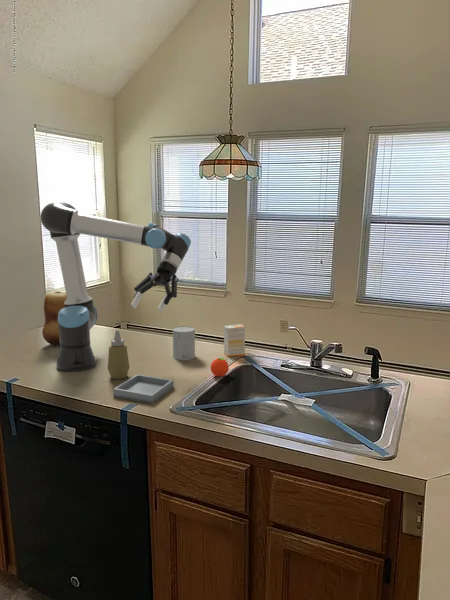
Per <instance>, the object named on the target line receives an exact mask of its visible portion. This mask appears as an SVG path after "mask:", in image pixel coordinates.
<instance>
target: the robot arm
mask: <svg viewBox="0 0 450 600" xmlns="http://www.w3.org/2000/svg"><path fill="white" fill-rule="evenodd" d="M40 222H41V224H42V226H43V227H44V228H45V229H46V231H47V230H48V231H49V234H50V239H52V240H53V241H54V242H55V244H56V250H57V255H58V260H59V266H60V269H61V275H62V276H61V277H62V280H63V286H64V292H66V296H67V299H66V301H65V302H64V305H65V308H63V309H61V310H60V311H59V313H58V324H59V339H60V345H59V352H58V355H57V359H56V361H55V362H56V365H55V366H56V368H57V370H59V371H63V372H80V371H86V370H89V369H92V368H94V367H95V366H96V364H97V362H96V361H97V360H96V359H97V358H96V357H95V354H94V352H93V349H92V346H91V332H90V331H91V329H92V328H93V327H94V326H95V324H96V323H97V321H98V310H97V308H96V306H95V305H94V299H93V297H92V296H90V295H89V294H88V289H87V284H86V283H87V282H86V278H85V273H84V267H83V262H82V256H81V252H80V246H79V240H78V238H80V235H81V234H82V235H86V236H91V237H98V238H103V239H108V240H113V241H119V242H124V243H128V244H135V245H139V246H144V247H149V248H151V249H162V250H164V251H165V254H164V255H163V257H162V259H161V261H160V263H159V265H158V267H157V269H156V273H155V274H154V273H152V272H149V273H148V274H147V275H146V277H145V278H143V280H141V281H140V282H139V283H137V285H136V286H135V287H134V288H133V290H134V291H135V292H136V293H135V294H134V296H133V300H132V302H131V303H130V306H131V307H132V308H133V309H136V308H137V306H138V305H139V304H140V301H141V300H142V297H143V294H145V293H146V292H148V291H149V290H151V289H152V288H153V287H156V286H161V287H164V289H165V293H166V294H164V295H163V297H162V299H161V301H160V303H159V304H158V306H157V310H158V311H159V312H160V313H163V312H164V311H165V308H166V306H168V305H169V303H170V301H171V299H173V298H174V299H176V298H177V296H178V281H179V277H178V276H177V275H176V274H177V271H178V269H179V268H180V266H181V264H182V263H183V260H184V258H185V257H186V255H187V253H188V250H189V248H190V246H191V244H192V241H191V238H190V236H188V235H187V234H185V233H182V232H178V233H176V234H172V233H171V232H169V231H167V230H165V228H162V227H161V226H159V225H158V224H155V223H153V222H149V223H148V224H147V226H146V225H145V226H144V225H142V224H141V225H140V224H136V223H131V222H125V221H121V220H115V219H110V218H105V217H101V216H95V215H91V214H86V213H80V212H79V211H78V209H76V208H75V207H74V206H73V205H72V204H70V203H67V202H51V203H48V204H46V206H44V207H43V209H42V210H41V212H40ZM170 282H171V283H170ZM170 285H171V286H170Z"/></svg>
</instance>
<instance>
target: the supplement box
mask: <svg viewBox="0 0 450 600" xmlns="http://www.w3.org/2000/svg"><path fill="white" fill-rule="evenodd" d="M245 342H246V326H244V325H243V324H242V323H241V324H240V323H239V324H229V325H224V326H223V354H224V356H226V357H227V358H230V357H239V356H240V357H241V356H245V354H246V345H245V344H246V343H245Z"/></svg>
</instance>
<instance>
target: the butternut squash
mask: <svg viewBox="0 0 450 600" xmlns="http://www.w3.org/2000/svg"><path fill="white" fill-rule="evenodd" d="M66 299H67V296H66V291H62V290H53V291H49V292H48V293H46V295H45V297H44V301H43V312H44V324H43V328H42V331H41V333H42V337H43V339H44V340H45V342H46V343H48V344H49V345H50V346H53V347H55V346H56V345H57V346H60V339H59V324H58V313H59V311H60V310H61V309H63V308H65V305H64V302H65V301H66ZM57 346H56V347H57Z"/></svg>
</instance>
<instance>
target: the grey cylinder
mask: <svg viewBox="0 0 450 600" xmlns="http://www.w3.org/2000/svg"><path fill="white" fill-rule="evenodd" d="M172 358H173V359H174V360H177V361H190V360H193V359H195V358H196V328H195V327H193V326H187V325H185V326H184V325H183V326H181V325H180V326H175V327H174V328H172Z"/></svg>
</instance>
